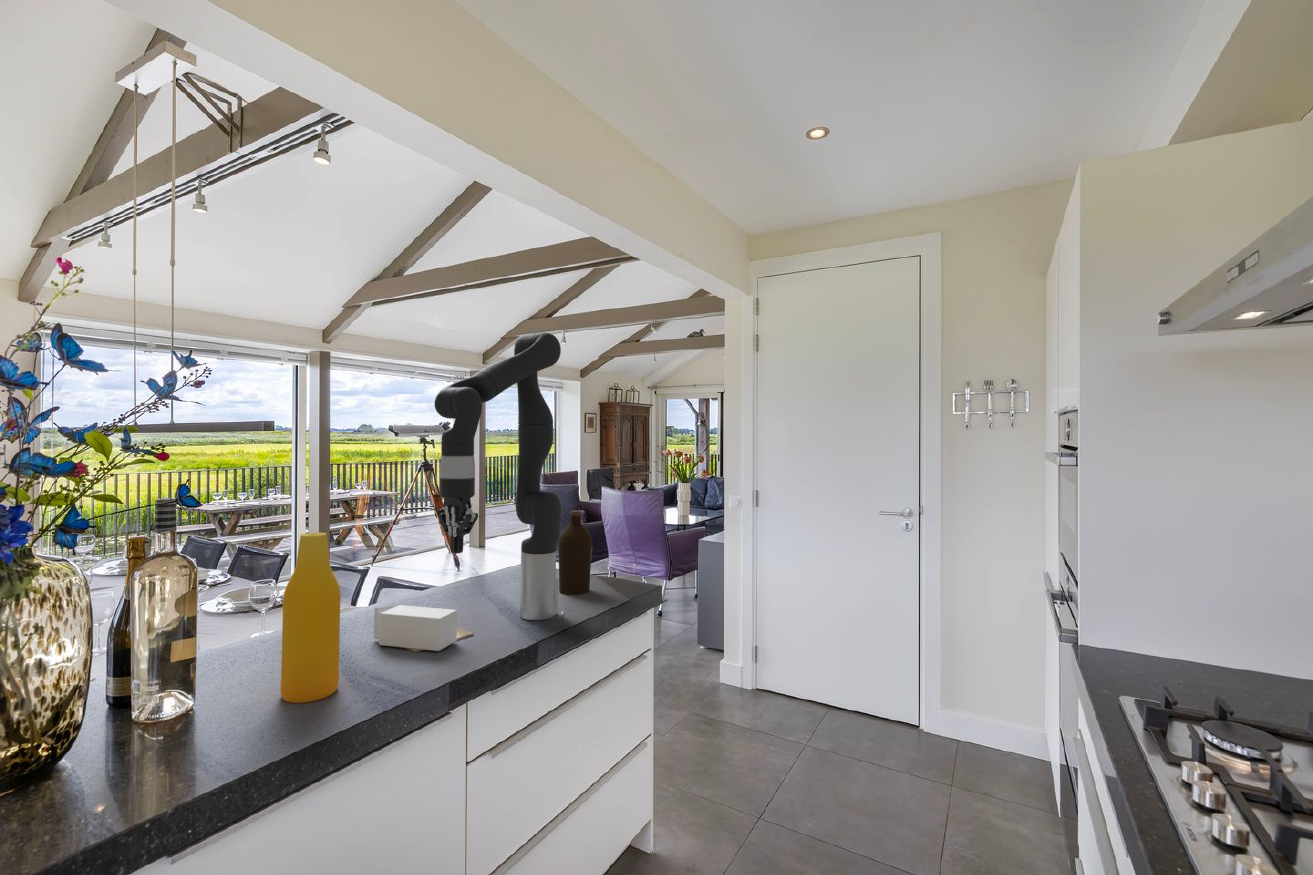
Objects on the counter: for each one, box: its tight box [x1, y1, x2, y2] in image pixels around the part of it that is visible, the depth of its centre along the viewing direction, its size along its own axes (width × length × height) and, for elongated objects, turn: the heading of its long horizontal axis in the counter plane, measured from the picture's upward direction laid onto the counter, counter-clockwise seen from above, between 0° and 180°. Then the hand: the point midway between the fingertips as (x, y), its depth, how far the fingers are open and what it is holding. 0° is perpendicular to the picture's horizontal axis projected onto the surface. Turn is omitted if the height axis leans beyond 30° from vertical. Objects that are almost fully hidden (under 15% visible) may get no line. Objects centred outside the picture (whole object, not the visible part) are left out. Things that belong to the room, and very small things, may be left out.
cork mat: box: [405, 627, 475, 653], centre depth 140 cm, size 15×13×1 cm
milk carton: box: [373, 604, 458, 652], centre depth 135 cm, size 7×7×19 cm
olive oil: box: [557, 510, 593, 596], centre depth 185 cm, size 11×11×25 cm
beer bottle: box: [279, 532, 342, 704], centre depth 109 cm, size 9×9×29 cm
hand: (456, 552), depth 134 cm, fingers closed
